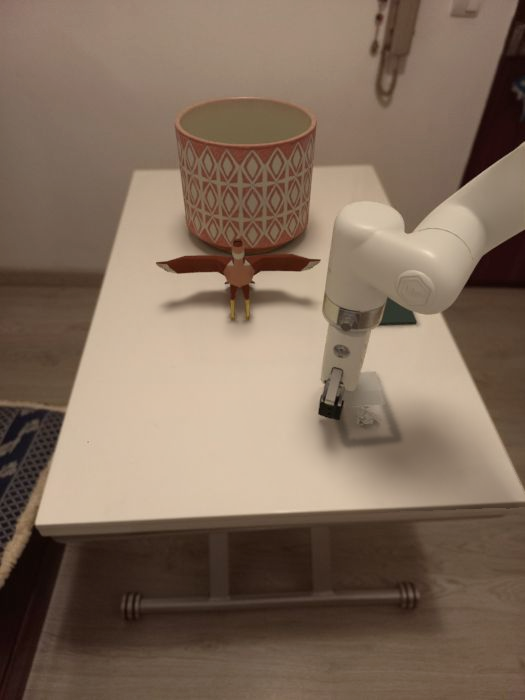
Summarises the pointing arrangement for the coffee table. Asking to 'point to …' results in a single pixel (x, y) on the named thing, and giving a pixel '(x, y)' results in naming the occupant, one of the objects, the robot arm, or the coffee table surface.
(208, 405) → the coffee table surface
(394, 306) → the felt mat
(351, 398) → the white pop-up card
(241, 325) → the coffee table surface
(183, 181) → the planter
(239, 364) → the coffee table surface
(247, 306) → the decorative bird
